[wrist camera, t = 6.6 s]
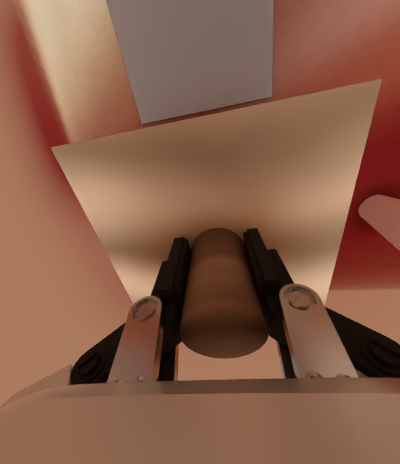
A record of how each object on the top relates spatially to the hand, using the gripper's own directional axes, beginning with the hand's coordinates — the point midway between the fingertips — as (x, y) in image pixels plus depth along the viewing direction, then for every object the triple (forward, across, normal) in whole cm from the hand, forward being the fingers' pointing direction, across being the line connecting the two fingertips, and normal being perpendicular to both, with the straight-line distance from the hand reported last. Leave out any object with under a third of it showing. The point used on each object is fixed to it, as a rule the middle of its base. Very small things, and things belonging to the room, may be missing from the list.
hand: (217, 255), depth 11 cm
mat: (+17, 0, -16) cm, 23 cm away
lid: (+2, 0, 0) cm, 2 cm away
